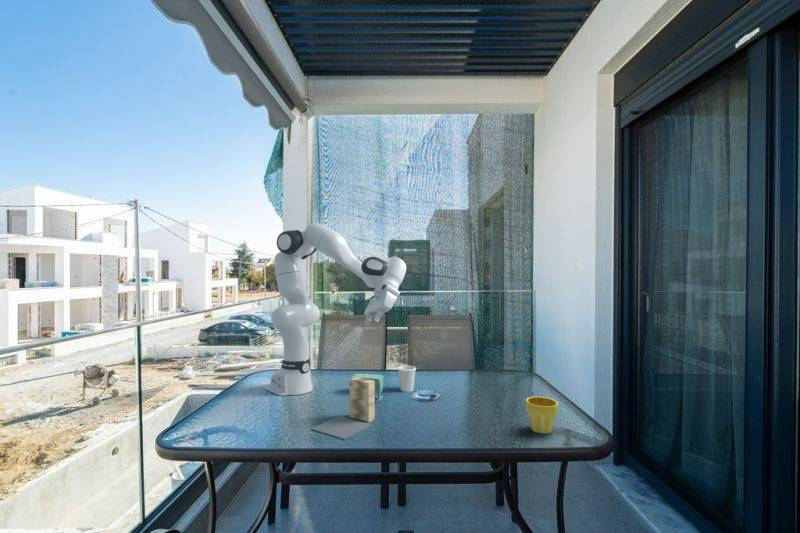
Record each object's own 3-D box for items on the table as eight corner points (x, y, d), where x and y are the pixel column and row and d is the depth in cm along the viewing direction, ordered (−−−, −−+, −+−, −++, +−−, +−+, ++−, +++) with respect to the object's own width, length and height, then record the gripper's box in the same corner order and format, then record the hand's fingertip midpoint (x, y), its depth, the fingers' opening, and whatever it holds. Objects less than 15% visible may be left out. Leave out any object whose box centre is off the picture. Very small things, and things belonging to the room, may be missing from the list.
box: (380, 395, 177) (379, 378, 178) (350, 394, 180) (350, 377, 180) (384, 390, 185) (383, 374, 185) (355, 389, 187) (355, 372, 187)
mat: (311, 429, 140) (311, 428, 140) (339, 417, 152) (339, 416, 152) (344, 439, 132) (344, 438, 132) (371, 425, 144) (371, 424, 144)
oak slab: (349, 417, 152) (349, 379, 152) (355, 414, 155) (355, 377, 155) (368, 422, 147) (368, 383, 147) (374, 419, 150) (374, 380, 150)
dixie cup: (416, 392, 181) (416, 370, 181) (397, 392, 181) (397, 370, 181) (416, 387, 190) (415, 365, 190) (397, 387, 190) (397, 365, 190)
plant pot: (561, 437, 133) (560, 407, 133) (527, 435, 135) (527, 405, 135) (554, 425, 144) (554, 397, 144) (524, 423, 145) (523, 395, 145)
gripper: (369, 294, 175) (355, 322, 169) (389, 283, 157) (374, 315, 151) (381, 301, 177) (368, 329, 171) (402, 292, 159) (388, 323, 153)
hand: (371, 322), depth 161 cm, fingers open, 8 cm apart
